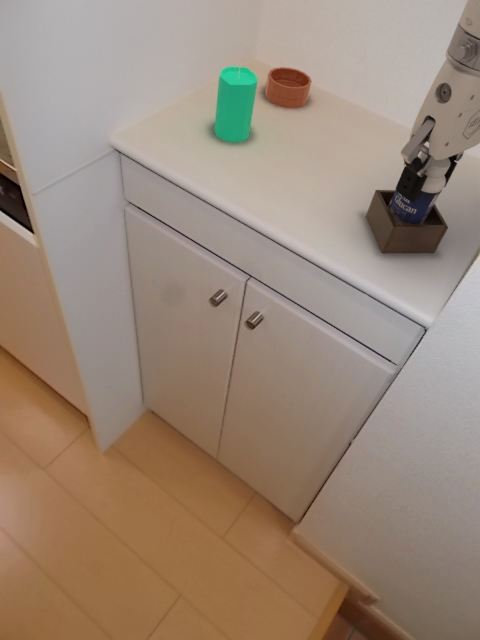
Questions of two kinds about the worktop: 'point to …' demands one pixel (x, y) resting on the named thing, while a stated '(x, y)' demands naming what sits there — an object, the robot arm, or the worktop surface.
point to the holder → (403, 228)
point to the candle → (235, 103)
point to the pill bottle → (420, 195)
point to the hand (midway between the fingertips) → (420, 188)
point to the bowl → (287, 87)
